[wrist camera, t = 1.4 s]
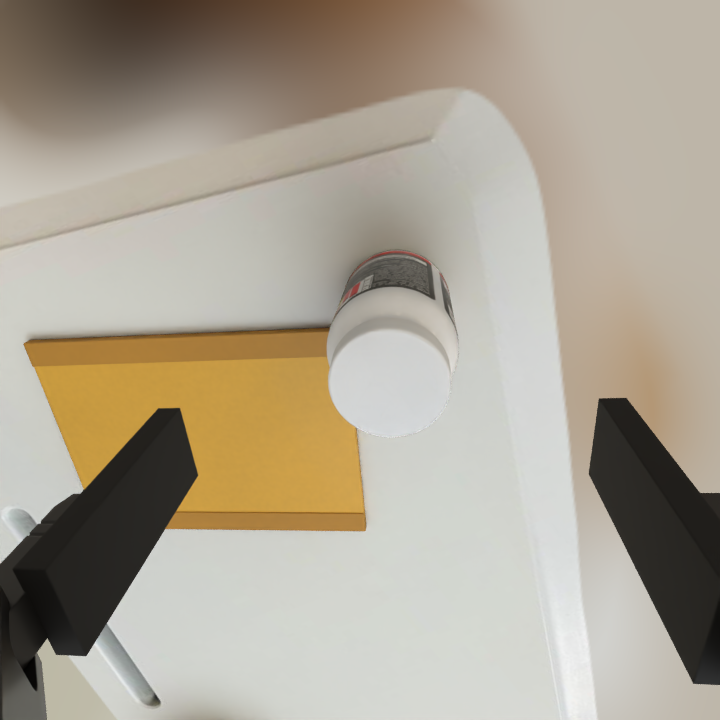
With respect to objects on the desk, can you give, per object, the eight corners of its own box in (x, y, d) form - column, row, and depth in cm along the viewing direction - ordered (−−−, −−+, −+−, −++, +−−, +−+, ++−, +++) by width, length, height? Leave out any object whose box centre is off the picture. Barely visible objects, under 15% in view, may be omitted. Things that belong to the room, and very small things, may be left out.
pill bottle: (325, 304, 28) (283, 389, 19) (390, 225, 26) (377, 280, 17) (402, 364, 29) (396, 472, 20) (471, 294, 27) (498, 380, 18)
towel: (29, 339, 31) (22, 343, 31) (345, 326, 28) (344, 330, 28) (102, 522, 37) (98, 528, 37) (366, 525, 35) (365, 531, 34)
